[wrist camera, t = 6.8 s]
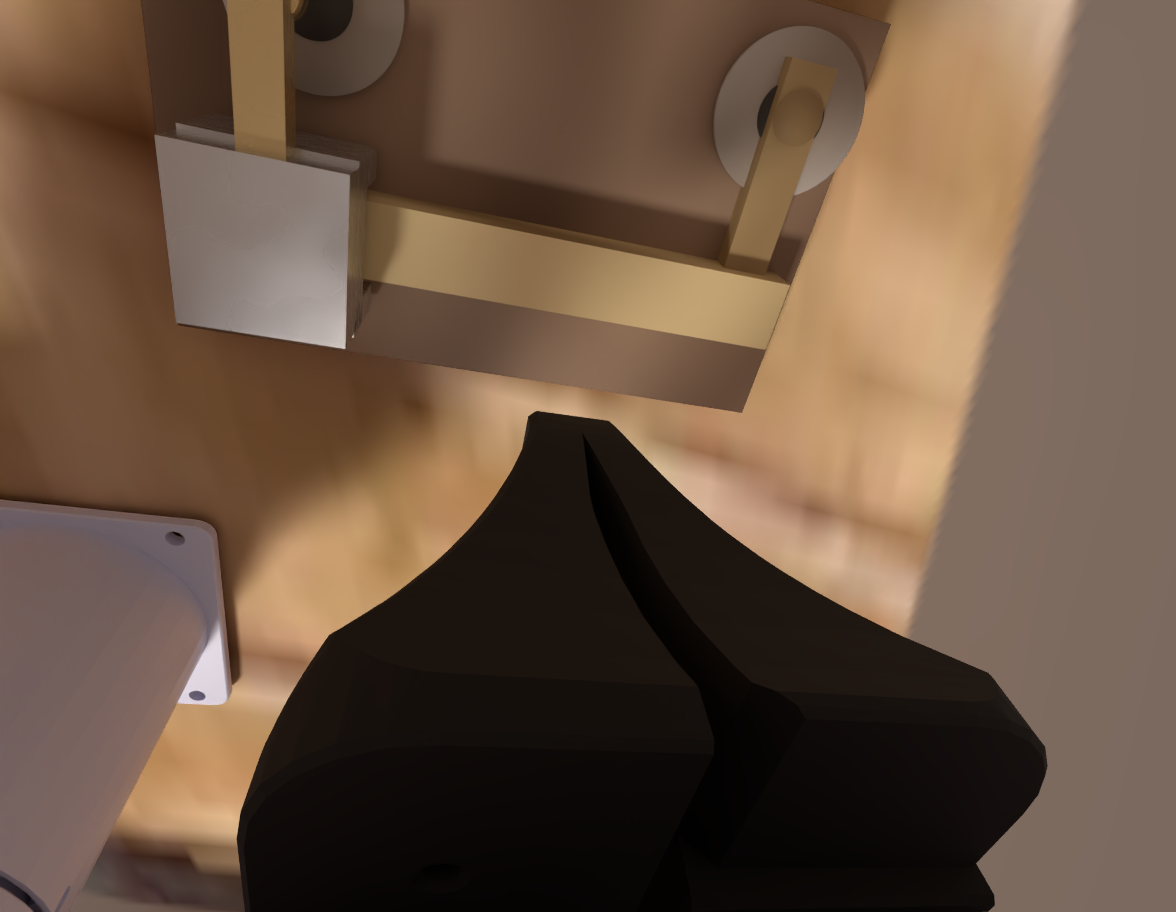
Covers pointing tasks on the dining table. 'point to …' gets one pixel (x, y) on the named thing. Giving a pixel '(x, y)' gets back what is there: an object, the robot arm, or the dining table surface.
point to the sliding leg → (265, 201)
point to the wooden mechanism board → (566, 171)
